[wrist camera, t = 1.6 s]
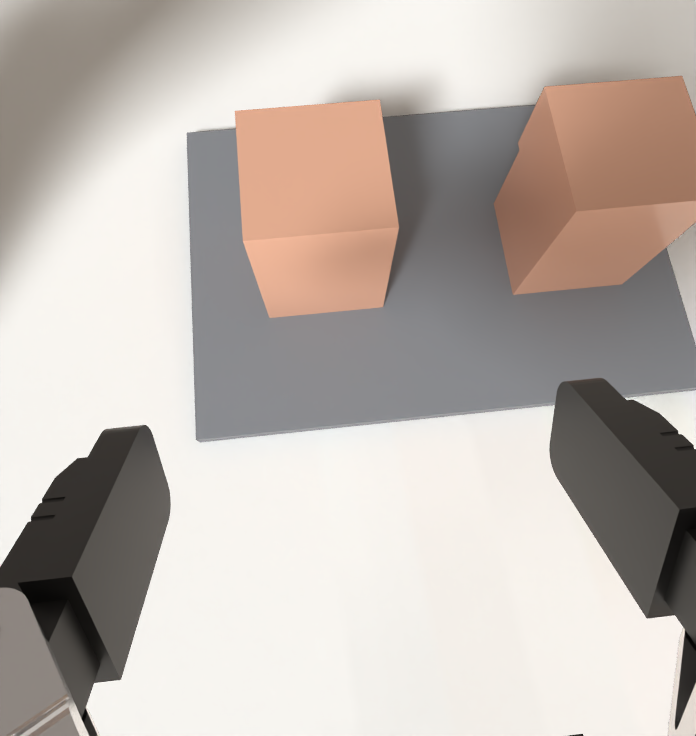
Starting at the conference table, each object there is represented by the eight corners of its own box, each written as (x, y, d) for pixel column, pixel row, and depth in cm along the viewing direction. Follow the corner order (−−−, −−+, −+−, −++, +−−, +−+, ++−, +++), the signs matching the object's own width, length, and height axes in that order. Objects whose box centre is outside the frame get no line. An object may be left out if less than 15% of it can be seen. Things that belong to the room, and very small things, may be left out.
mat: (200, 441, 27) (196, 439, 26) (190, 142, 32) (186, 132, 31) (697, 389, 28) (707, 386, 27) (614, 108, 33) (620, 98, 32)
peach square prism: (269, 317, 28) (242, 241, 20) (262, 217, 30) (234, 110, 22) (382, 307, 28) (399, 227, 21) (369, 208, 30) (379, 99, 22)
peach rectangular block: (512, 294, 29) (576, 211, 21) (492, 197, 30) (544, 86, 23) (621, 284, 29) (724, 198, 21) (595, 188, 30) (682, 75, 23)
